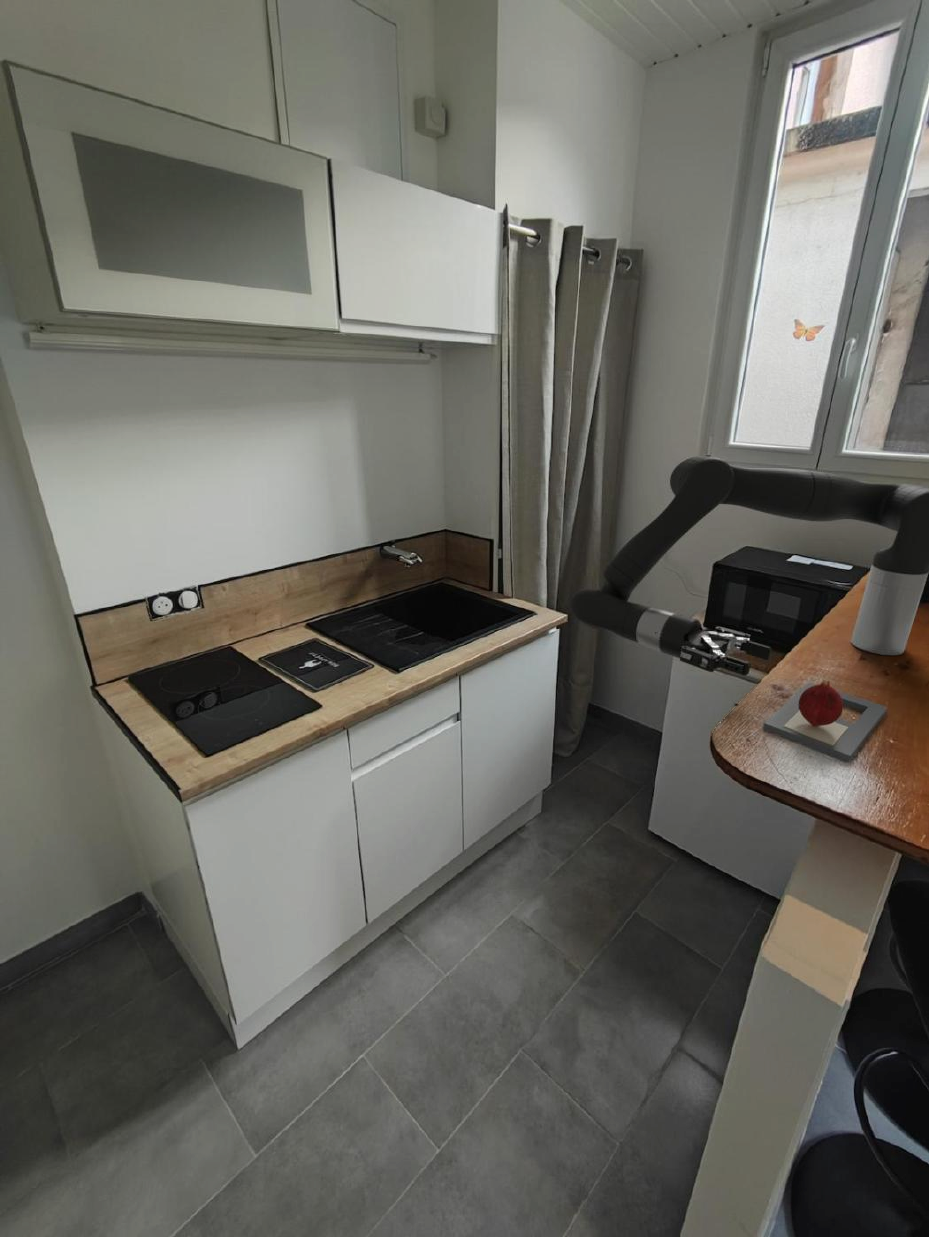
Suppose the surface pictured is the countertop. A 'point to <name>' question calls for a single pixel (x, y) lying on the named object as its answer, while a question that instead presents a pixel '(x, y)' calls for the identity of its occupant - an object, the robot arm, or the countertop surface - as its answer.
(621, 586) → the robot arm
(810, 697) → the onion
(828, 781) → the countertop surface
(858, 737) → the tray
